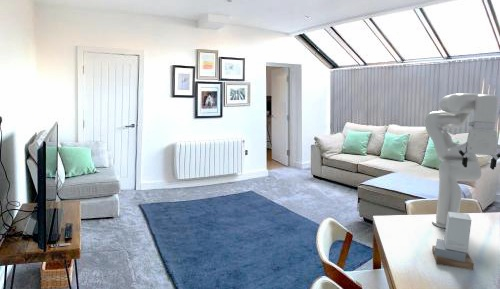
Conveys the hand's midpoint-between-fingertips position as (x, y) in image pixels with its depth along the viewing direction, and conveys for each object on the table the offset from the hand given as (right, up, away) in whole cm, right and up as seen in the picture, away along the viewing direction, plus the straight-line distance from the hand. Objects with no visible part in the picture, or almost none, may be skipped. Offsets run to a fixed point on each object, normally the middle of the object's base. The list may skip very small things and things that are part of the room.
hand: (478, 167), depth 148 cm
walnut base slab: (-15, -35, -8) cm, 40 cm away
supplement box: (-15, -30, -10) cm, 35 cm away
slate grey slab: (-16, -32, -8) cm, 37 cm away
